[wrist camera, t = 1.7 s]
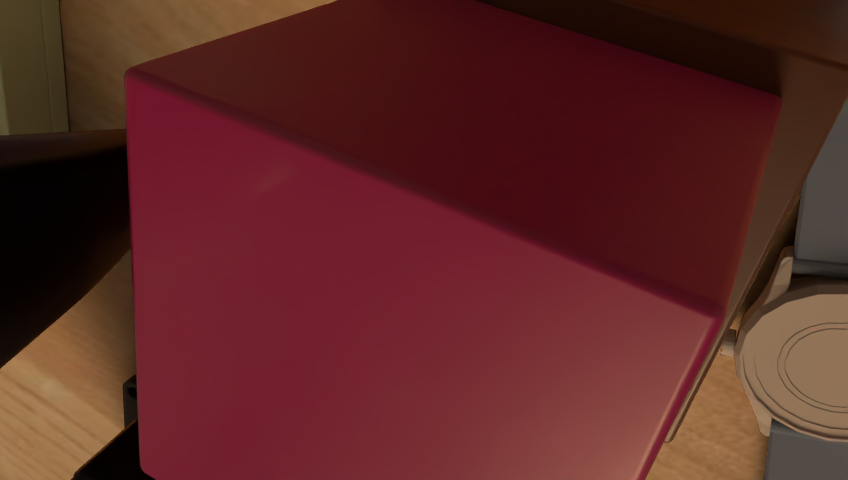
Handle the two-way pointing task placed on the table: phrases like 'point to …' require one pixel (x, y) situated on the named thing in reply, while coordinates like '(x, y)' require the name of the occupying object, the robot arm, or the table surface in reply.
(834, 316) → the wristwatch
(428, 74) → the mulberry block
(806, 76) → the walnut block
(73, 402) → the table surface
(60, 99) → the tray
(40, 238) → the robot arm
